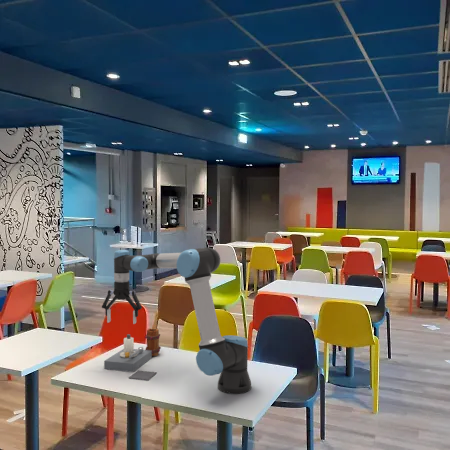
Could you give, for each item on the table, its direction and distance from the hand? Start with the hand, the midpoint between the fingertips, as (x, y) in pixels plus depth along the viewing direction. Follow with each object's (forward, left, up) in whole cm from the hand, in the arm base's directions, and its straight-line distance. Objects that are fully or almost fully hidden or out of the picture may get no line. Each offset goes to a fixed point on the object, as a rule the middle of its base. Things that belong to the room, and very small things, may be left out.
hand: (121, 322), depth 240 cm
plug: (+6, -1, -23) cm, 24 cm away
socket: (+6, -1, -23) cm, 24 cm away
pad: (-9, -16, -23) cm, 29 cm away
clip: (+5, -5, -17) cm, 18 cm away
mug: (+24, -7, -23) cm, 34 cm away
